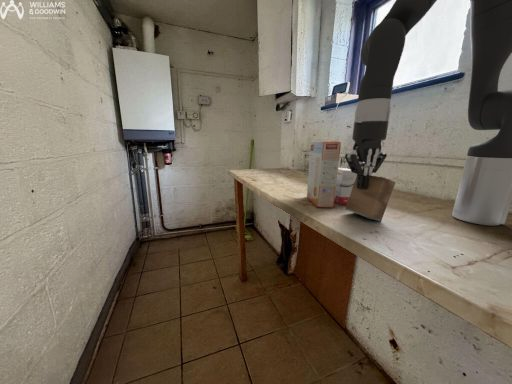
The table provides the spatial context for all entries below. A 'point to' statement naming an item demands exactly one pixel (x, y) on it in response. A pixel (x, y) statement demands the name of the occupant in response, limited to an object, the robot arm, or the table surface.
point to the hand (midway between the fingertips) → (361, 189)
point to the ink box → (344, 185)
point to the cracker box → (323, 173)
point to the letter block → (371, 198)
